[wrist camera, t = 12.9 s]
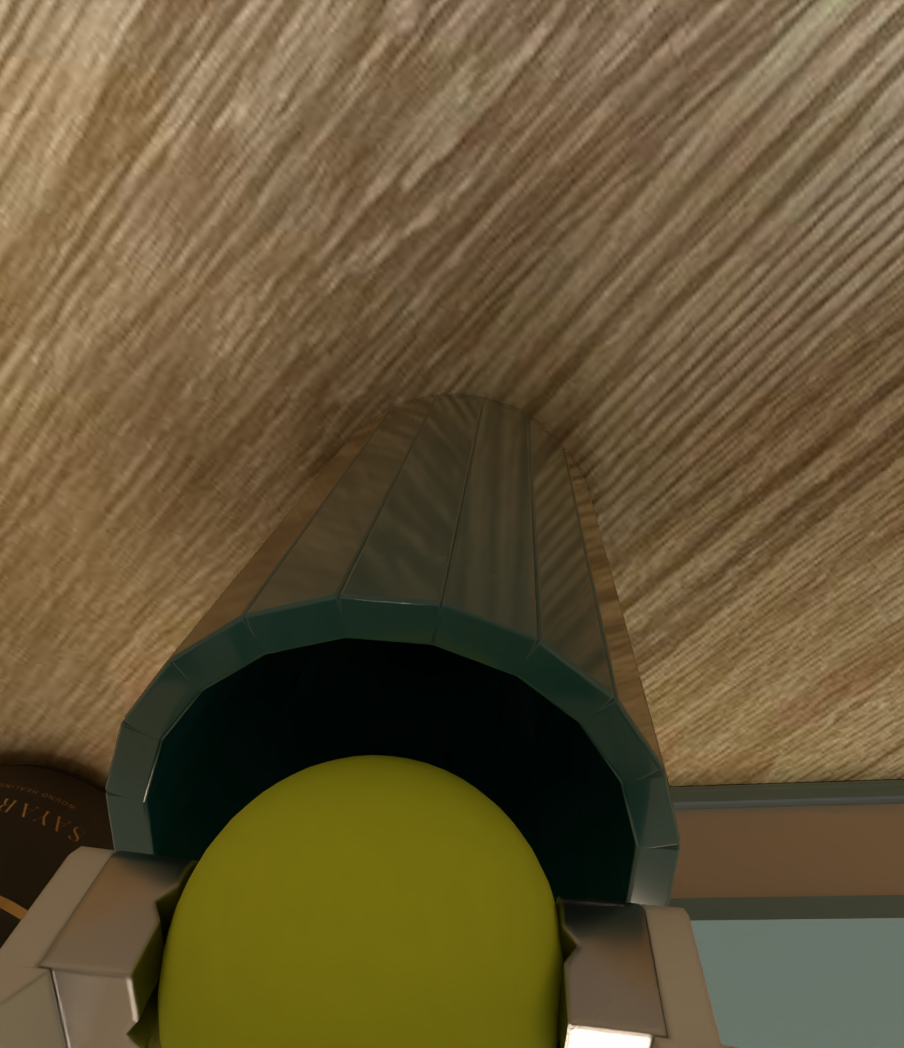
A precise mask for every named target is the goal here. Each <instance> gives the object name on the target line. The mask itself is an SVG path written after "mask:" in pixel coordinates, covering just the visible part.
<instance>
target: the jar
mask: <svg viewBox="0 0 904 1048" xmlns="http://www.w3.org/2000/svg"><path fill="white" fill-rule="evenodd" d="M105 794H106V790H105V789H103V788H101V787H100V786H98V785H96V784H94V783H92V782H90V781H88V780H86V779H84V778H81V777H79V776H76V775H74V774H71V773H68V772H65V771H61V770H57V769H53V768H48V767H42V766H33V765H10V766H0V948H1V947H2V946H3V944H4V943H5V942H6V940H7V939H8V937H9V936H10V935H11V933H12V932H13V931H14V929H15V928H16V926H17V925H18V924H19V922H20V921H21V920H22V918H23V917H24V915H25V914H26V913H27V911H28V910H29V909H30V907H31V906H32V905H33V903H34V902H35V900H36V899H37V898H38V896H39V895H40V894H41V892H42V891H43V889H44V888H45V887H46V885H47V884H48V883H49V881H50V880H51V878H52V877H53V876H54V874H55V873H56V872H57V870H58V869H59V867H60V866H61V865H62V863H63V862H64V861H65V859H66V858H67V856H69V855H70V854H71V853H72V852H74V851H75V850H77V849H78V848H79V847H81V846H84V847H92V848H100V849H108V850H114V847H113V840H112V834H111V828H110V821H109V815H108V808H107V802H106V795H105Z"/></svg>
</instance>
